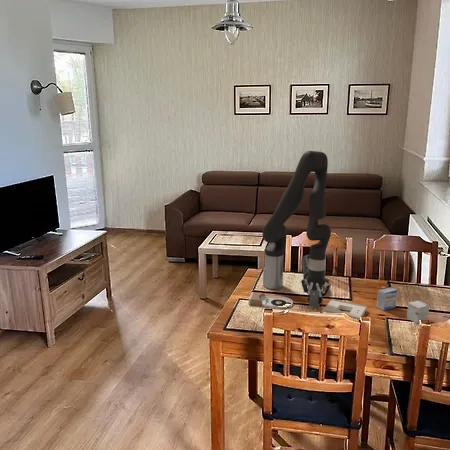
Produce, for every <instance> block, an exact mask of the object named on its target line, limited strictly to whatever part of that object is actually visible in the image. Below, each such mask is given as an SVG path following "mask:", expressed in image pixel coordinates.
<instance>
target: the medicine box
mask: <svg viewBox="0 0 450 450" xmlns="http://www.w3.org/2000/svg"><path fill="white" fill-rule="evenodd" d="M376 296H377V297H376V308H377V309H379V310H381V311H384V312H385V311H388V310H391V309H394V308H396V307H397V298H398V297H397V296H398V289H395V288H393V287H391V286H390V287H386V288H382V289H378V290H377V295H376Z"/></svg>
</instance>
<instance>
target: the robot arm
mask: <svg viewBox="0 0 450 450" xmlns="http://www.w3.org/2000/svg"><path fill="white" fill-rule="evenodd" d="M328 160H329V159H328V156H327V154H326V153H324V152H323V151H318V150H317V151H316V150H307V151H305V152H304V153H303V154H302V155H301V157H300V159H299V161H298V163H297V166H296V168H295V170H294V174H293V175H292V178H291V179H290V181H289V184H288V186H287V187H286V189H285V191H284V192H283V194H282V196H281V198H280V200H279V202H278V204H277V206H276V207H275V210H274V211H273V214H272V215H271V216H270V217H269V219H268V221H267V222H266V223H265V225H264V227H263V229H262V233H261V234H262V239H263V241H265V242H267V243H269V244H268V245H267V247H265V251H264V254H265V255H264V268H263V269H262V287H265V288H266V289H269V290H280V289H282V288H283V286H284V285H283V284H284V283H283V282H284V281H283V280H284V279H283V278H284V258H285V257H284V256H285V255H284V253H285V250H286V245H287V234H288V233H287V228H286V225H284V224H285V223H286V222H287V221H288V220H289V219H290V218H291V217H292V216H293V215H294V214H295V213H296V211H298V209H299V207H300V206H301V204H302V203H303V201H304V199H305V183H306V180H307V179H308V177H309V175H310V174H311V173H314V183H313V188H312V190H311V191H310V192H311V193H310V196H309V199H308V206H309V208H308V209H309V210H308V211H309V216H308V217H309V218H308V222H307V226H306V227H307V228H306V232H305V233H306V237H307V239H308V240H309V241H311V242H312V241H313V242H314V241H317V243H315V244H311V245H310V247H309V255H310V256H309V258H308V259H309V265H308V278H307V279H304V278H303V279H301V281H300V282H301V286H302V290H303V292H304V293H306V294H307V301H308V302H309V298H310V290H312V289H317V290H318V291H319V301H318V304H320V305H321V304H322V303H323V302H324V301H323V300H324V299H323V297H327V295H328V294H329V292H330V291H329V290H330V288H331V286H332V284H331V283H327V282H326V279H325V278H326V267H327V265H326V264H327V263H326V251H327V247H328V246H329V245H328V244H329V242H330V237H331V235H332V229H331V227H330V225H328V224H326V223H324V224H323V223H322V224H319V223H318V224H317V221H319V220H323V219H325V218H326V216H327V215H326V213H327V212H326V185H327V176H328V165H329V163H328V162H329V161H328ZM307 282H308V284H309V285H310V287H308V286H307ZM323 286H324V289H325V290H324V289H323Z"/></svg>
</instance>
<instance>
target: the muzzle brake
mask: <svg viewBox="0 0 450 450" xmlns="http://www.w3.org/2000/svg"><path fill="white" fill-rule="evenodd" d="M309 256H310V254H305V255H304V256H303V257H302V258H301V259H300V261H301V262H300V263H301V264H300V265H301V270H302V274H303V275H302V276H303V279H307V278H308V265H309ZM307 287H308V288H309V287H310V285H309V284H308V282H307Z"/></svg>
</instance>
